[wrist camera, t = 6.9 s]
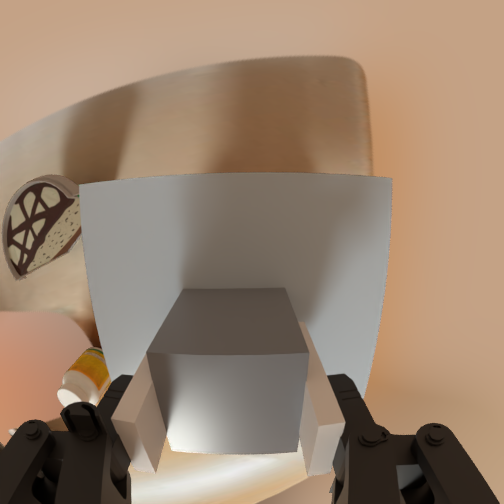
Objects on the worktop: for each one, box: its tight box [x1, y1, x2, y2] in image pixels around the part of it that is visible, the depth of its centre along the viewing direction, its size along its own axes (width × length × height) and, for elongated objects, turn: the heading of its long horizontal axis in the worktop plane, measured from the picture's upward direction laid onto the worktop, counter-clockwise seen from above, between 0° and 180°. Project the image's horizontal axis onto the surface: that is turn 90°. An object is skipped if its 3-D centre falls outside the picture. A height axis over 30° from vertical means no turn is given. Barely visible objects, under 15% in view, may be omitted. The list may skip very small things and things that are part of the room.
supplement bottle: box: [57, 347, 111, 407], centre depth 30 cm, size 5×5×10 cm
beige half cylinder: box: [2, 175, 82, 281], centre depth 25 cm, size 12×6×10 cm, turn 131°
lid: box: [79, 172, 392, 454], centre depth 12 cm, size 16×16×7 cm
